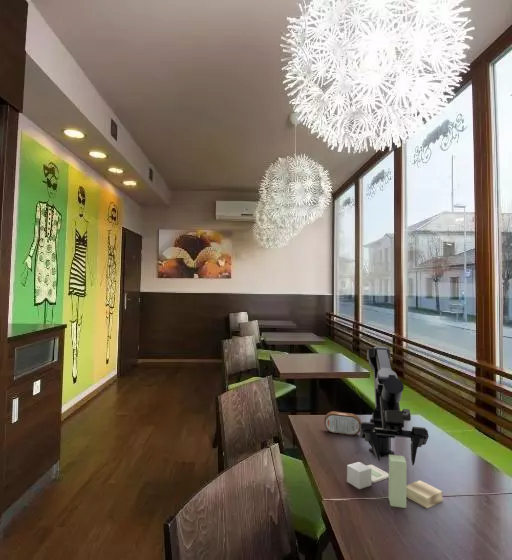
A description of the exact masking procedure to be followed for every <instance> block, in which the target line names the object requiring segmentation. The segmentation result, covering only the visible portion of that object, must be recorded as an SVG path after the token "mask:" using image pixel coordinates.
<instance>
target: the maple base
mask: <svg viewBox="0 0 512 560" xmlns="http://www.w3.org/2000/svg"><path fill="white" fill-rule="evenodd" d="M407 498H408V499H409V500H411V501H413V502H415V503H417V504H418V505H420V506H422V507H424V508H426V509H429V508H431V507H433V506H436V505H438V504H440V503H441V502H443V490H441V489H438V488H436V487H434V486H432V485H430V484H428V483H426V482H424V481H422V480H420V479H419V480H417V481H414V482H411V483H409V484H406V499H407Z"/></svg>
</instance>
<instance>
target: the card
mask: <svg viewBox="0 0 512 560" xmlns="http://www.w3.org/2000/svg"><path fill="white" fill-rule="evenodd" d="M367 466H368V467H370V468H371V483H372V484H374V483H378V482H381V481H383V480H386V479H389V472H387V471H384V470H382V469H381V468H379V467H377V466H375V465H373V464H368V465H367Z"/></svg>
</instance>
